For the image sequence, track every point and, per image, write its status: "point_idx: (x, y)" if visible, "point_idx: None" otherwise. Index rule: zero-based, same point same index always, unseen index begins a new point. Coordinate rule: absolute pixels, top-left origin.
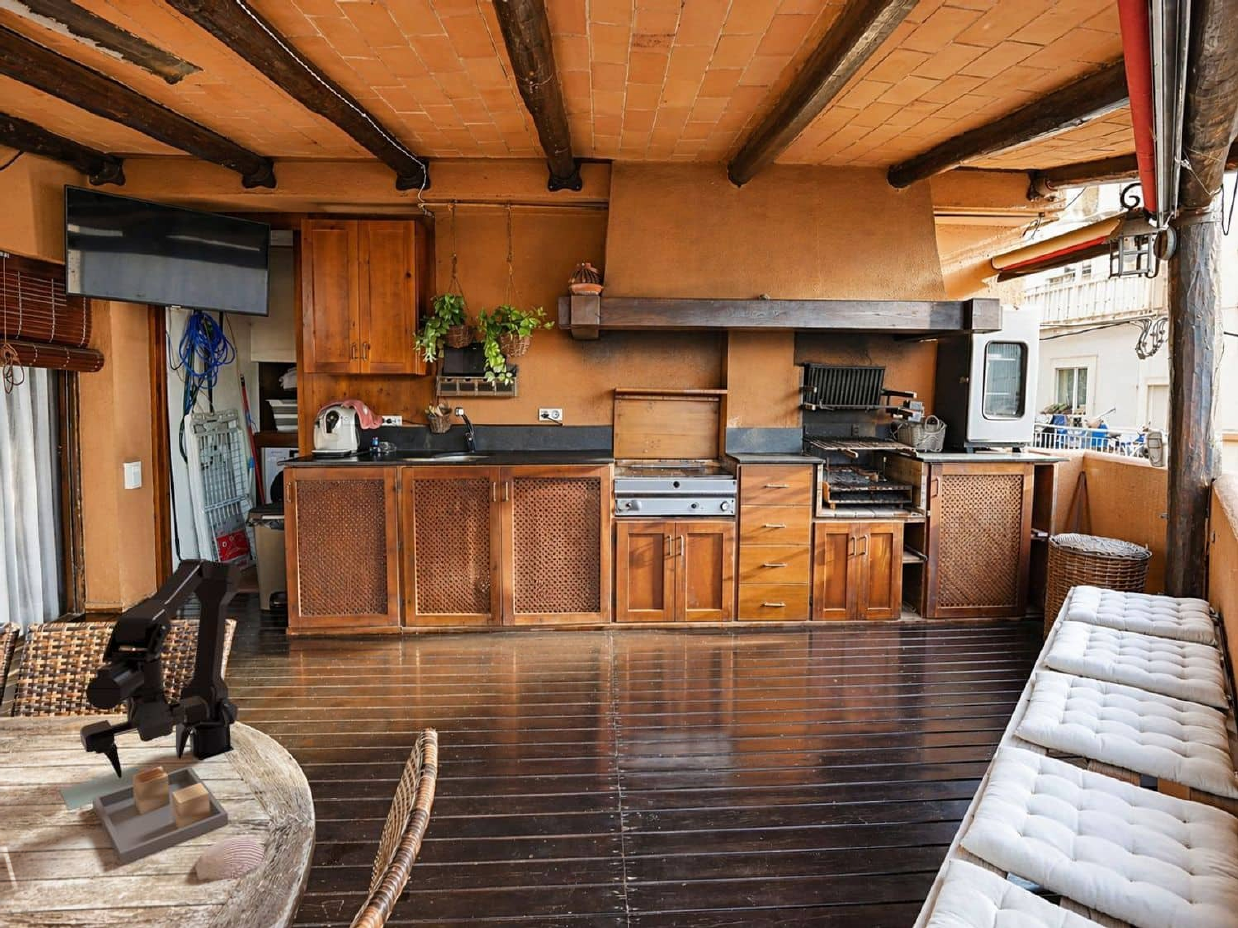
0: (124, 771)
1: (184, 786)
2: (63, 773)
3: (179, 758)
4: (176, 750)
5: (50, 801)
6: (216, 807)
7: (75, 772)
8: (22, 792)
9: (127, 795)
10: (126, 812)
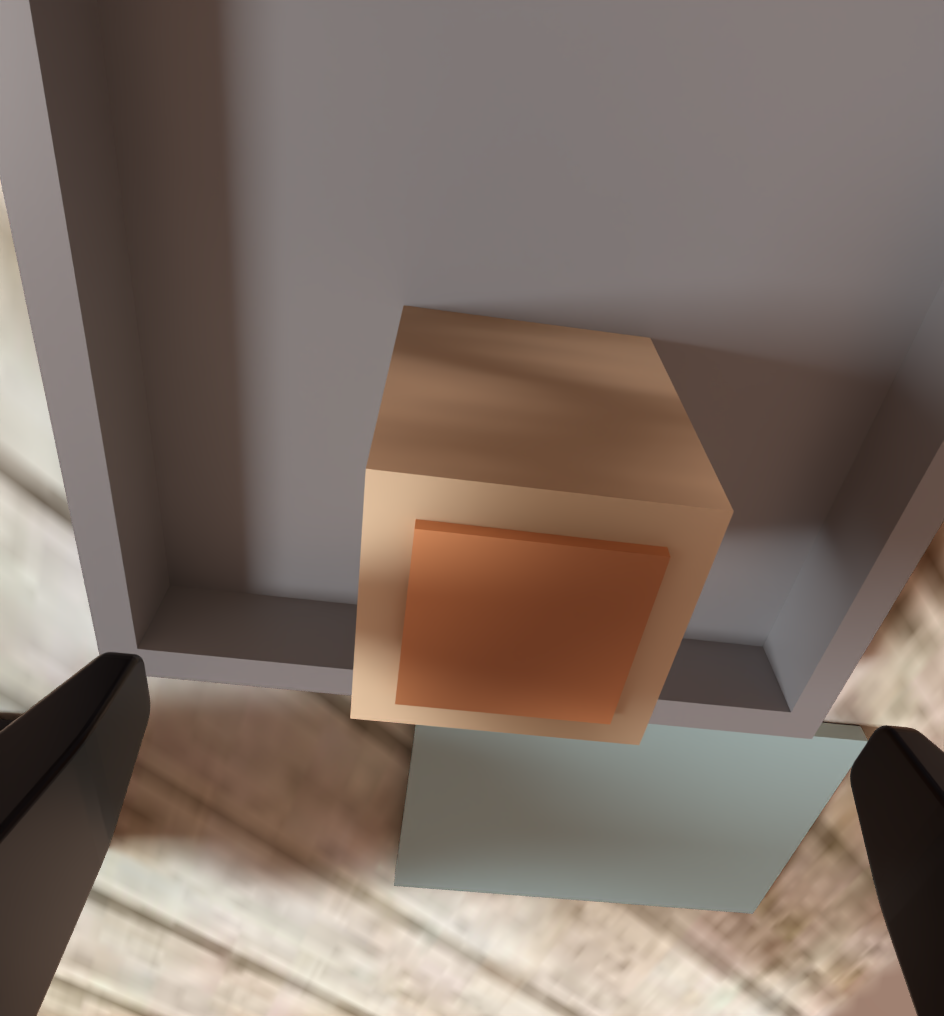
0: (456, 878)
1: (215, 496)
2: (643, 995)
3: (126, 654)
4: (112, 809)
5: (824, 863)
6: None
7: (607, 979)
8: (831, 973)
9: None
10: None
